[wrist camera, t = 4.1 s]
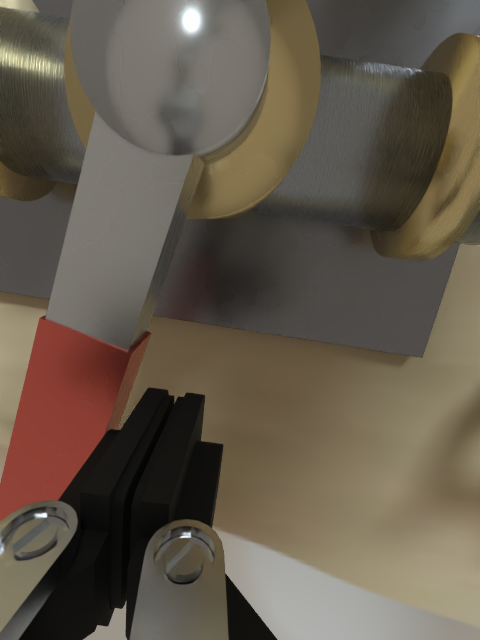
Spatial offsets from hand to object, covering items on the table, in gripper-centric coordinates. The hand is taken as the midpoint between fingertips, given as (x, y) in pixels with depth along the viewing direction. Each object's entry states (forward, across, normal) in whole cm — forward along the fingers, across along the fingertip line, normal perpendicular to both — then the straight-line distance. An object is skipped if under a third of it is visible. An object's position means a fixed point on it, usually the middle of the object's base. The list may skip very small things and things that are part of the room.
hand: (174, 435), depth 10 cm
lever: (0, +2, -4) cm, 4 cm away
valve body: (+8, 0, -9) cm, 12 cm away
